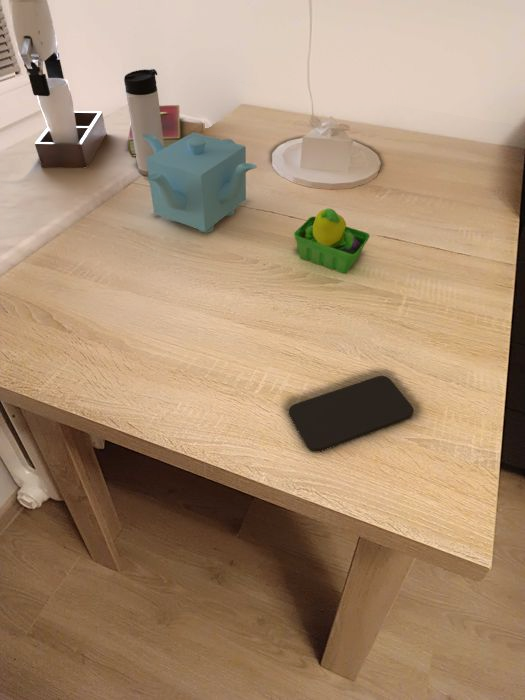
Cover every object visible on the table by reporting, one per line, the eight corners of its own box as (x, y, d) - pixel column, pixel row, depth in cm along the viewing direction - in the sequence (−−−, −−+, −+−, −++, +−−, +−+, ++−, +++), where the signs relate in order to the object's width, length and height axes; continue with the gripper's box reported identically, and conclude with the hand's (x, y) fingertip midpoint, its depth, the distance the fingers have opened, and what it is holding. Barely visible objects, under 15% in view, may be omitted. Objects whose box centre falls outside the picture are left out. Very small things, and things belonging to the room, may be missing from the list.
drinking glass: (87, 147, 117) (71, 77, 107) (80, 160, 112) (63, 88, 102) (58, 147, 117) (39, 77, 106) (50, 160, 112) (29, 88, 102)
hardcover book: (129, 156, 117) (126, 138, 114) (134, 122, 131) (132, 105, 128) (181, 154, 118) (179, 136, 115) (180, 120, 133) (179, 103, 130)
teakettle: (236, 188, 106) (235, 117, 96) (258, 235, 94) (259, 158, 83) (147, 198, 103) (135, 125, 92) (157, 248, 90) (144, 169, 80)
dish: (380, 193, 106) (390, 140, 98) (263, 183, 108) (265, 130, 100) (379, 146, 123) (388, 98, 115) (279, 138, 126) (281, 89, 118)
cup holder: (41, 167, 112) (34, 143, 108) (66, 132, 126) (60, 110, 122) (86, 168, 112) (81, 144, 108) (106, 133, 126) (102, 111, 122)
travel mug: (171, 173, 111) (160, 74, 97) (141, 178, 109) (125, 78, 95) (164, 162, 115) (152, 65, 101) (135, 166, 113) (119, 68, 99)
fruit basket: (366, 258, 89) (378, 200, 81) (346, 284, 83) (357, 224, 75) (309, 239, 93) (315, 182, 85) (286, 263, 87) (290, 204, 79)
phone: (285, 406, 64) (385, 372, 68) (285, 410, 64) (384, 377, 68) (312, 452, 59) (417, 413, 63) (311, 456, 59) (416, 417, 64)
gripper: (21, -22, 99) (44, 73, 111) (-13, -4, 86) (16, 101, 98) (59, -20, 99) (78, 75, 111) (30, -2, 87) (55, 102, 99)
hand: (49, 87), depth 105 cm, fingers open, 9 cm apart
